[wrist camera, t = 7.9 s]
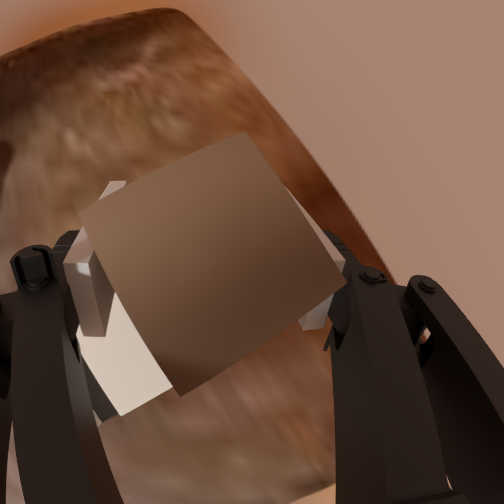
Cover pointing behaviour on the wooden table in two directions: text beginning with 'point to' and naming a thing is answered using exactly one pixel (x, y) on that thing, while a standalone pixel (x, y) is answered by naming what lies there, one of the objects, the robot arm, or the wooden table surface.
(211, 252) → the walnut block
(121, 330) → the board
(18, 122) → the wooden table surface
